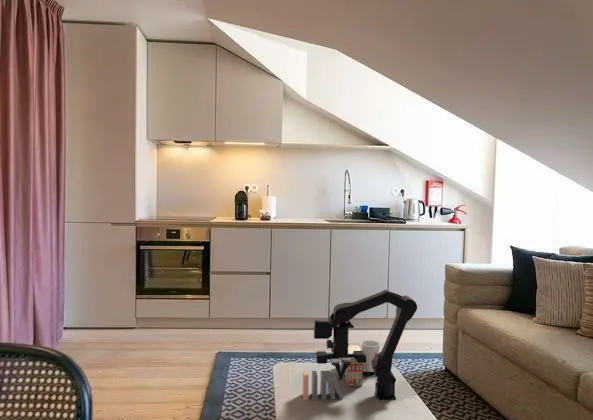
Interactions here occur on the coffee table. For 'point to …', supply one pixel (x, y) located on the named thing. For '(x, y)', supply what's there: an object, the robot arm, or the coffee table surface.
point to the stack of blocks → (354, 369)
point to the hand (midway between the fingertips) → (340, 379)
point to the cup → (369, 353)
